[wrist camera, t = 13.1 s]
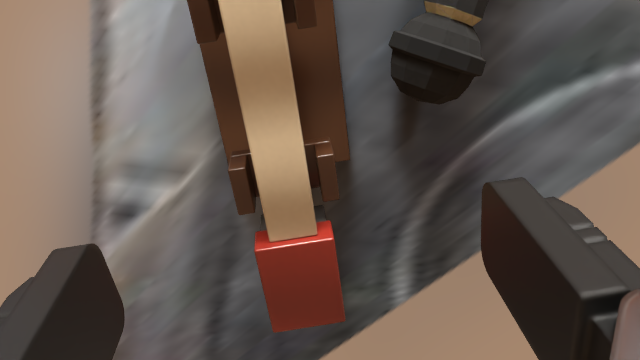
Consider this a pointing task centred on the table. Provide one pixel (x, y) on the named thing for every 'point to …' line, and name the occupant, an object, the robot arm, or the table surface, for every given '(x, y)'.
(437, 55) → the microphone
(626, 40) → the table surface
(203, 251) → the table surface
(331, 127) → the rack
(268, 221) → the brush
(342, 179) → the table surface
